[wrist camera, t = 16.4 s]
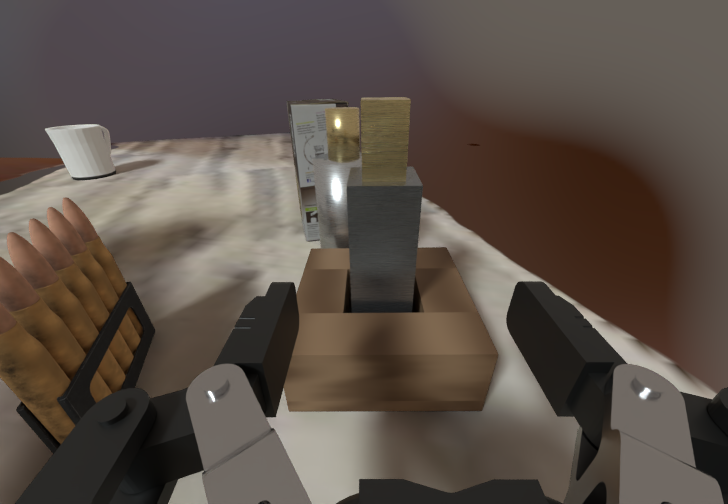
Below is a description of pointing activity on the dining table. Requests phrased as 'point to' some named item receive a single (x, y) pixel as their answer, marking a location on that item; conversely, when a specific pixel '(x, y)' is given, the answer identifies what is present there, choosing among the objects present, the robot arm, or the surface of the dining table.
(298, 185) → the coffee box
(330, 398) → the socket block
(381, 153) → the square bit
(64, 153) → the mug
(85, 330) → the ammunition clip
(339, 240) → the silver bottle
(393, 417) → the dining table surface
